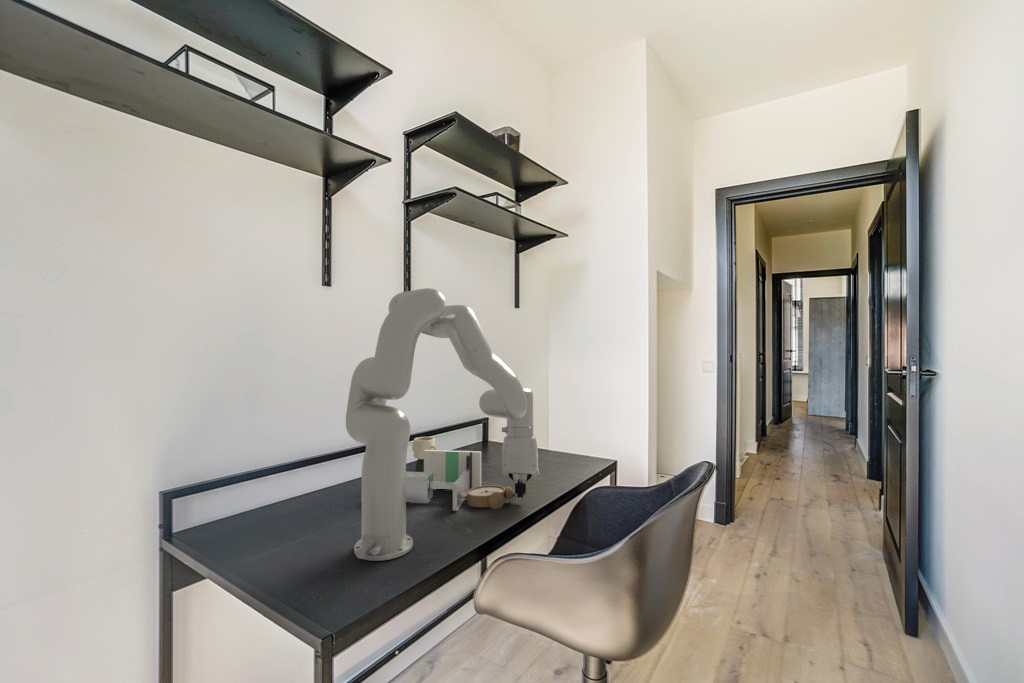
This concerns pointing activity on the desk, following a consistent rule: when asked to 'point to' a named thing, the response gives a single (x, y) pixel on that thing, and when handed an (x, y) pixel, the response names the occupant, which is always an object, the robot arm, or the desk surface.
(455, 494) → the grey t-shaped piece
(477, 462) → the board
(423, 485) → the block
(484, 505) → the alarm clock
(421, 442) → the character mug
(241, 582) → the desk surface
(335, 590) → the desk surface
